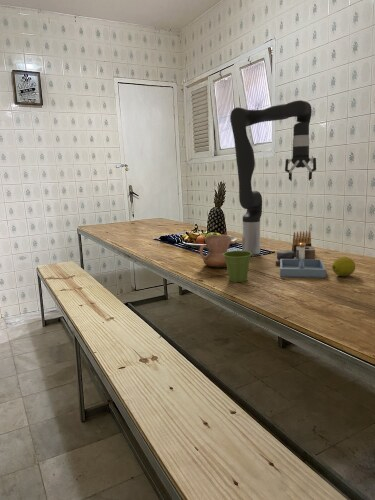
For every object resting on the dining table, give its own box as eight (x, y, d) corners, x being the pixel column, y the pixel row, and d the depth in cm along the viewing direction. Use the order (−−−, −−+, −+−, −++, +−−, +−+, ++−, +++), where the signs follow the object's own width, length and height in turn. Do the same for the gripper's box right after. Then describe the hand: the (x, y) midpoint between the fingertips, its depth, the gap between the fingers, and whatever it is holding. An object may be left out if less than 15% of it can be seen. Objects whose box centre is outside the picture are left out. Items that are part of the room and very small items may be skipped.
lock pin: (297, 271, 165) (298, 243, 162) (297, 269, 168) (298, 242, 165) (305, 271, 164) (305, 243, 162) (304, 269, 167) (305, 242, 165)
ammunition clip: (309, 252, 202) (310, 230, 200) (311, 253, 201) (312, 230, 198) (291, 254, 200) (291, 231, 197) (293, 255, 198) (293, 232, 196)
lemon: (347, 272, 162) (348, 254, 161) (360, 277, 155) (361, 257, 153) (325, 275, 159) (326, 256, 158) (337, 280, 152) (338, 260, 150)
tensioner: (275, 265, 179) (275, 250, 177) (275, 259, 190) (276, 245, 188) (316, 266, 174) (316, 251, 173) (313, 259, 186) (314, 245, 184)
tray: (280, 276, 160) (280, 268, 159) (280, 266, 177) (280, 258, 176) (325, 278, 155) (326, 269, 155) (321, 266, 172) (321, 259, 172)
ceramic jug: (228, 260, 191) (227, 232, 189) (241, 266, 178) (240, 236, 175) (195, 265, 186) (193, 236, 183) (205, 272, 173) (204, 241, 170)
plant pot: (229, 275, 165) (228, 249, 163) (255, 277, 160) (255, 251, 158) (219, 282, 155) (218, 255, 152) (247, 285, 150) (247, 257, 147)
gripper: (285, 146, 178) (284, 181, 181) (317, 144, 175) (316, 180, 178) (285, 146, 185) (284, 180, 189) (316, 145, 182) (315, 179, 185)
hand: (300, 180), depth 183 cm, fingers open, 8 cm apart
